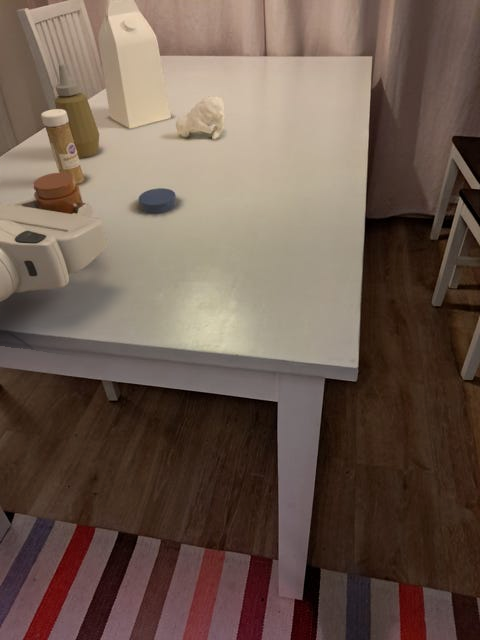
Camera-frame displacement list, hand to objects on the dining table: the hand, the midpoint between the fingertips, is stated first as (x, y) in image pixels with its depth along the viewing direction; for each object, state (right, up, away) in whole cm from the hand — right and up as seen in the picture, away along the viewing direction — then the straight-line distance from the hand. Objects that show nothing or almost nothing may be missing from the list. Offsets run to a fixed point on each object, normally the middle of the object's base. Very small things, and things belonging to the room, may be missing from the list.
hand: (65, 204), depth 66 cm
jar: (0, -5, +3) cm, 6 cm away
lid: (+10, +5, +17) cm, 21 cm away
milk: (-1, +37, +56) cm, 67 cm away
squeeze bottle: (-10, +21, +39) cm, 45 cm away
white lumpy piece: (+16, +27, +44) cm, 54 cm away
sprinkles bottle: (-9, +11, +28) cm, 31 cm away
